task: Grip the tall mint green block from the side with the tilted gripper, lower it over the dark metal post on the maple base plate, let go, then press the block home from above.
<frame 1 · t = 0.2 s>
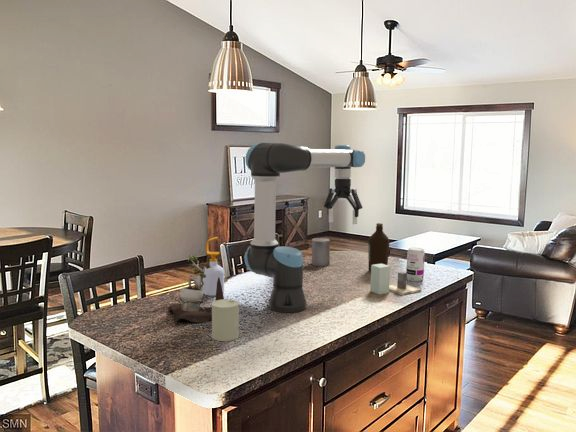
hand: (342, 223, 247), 27 cm above the worktop, tool pointing down, fingers open, 13 cm apart
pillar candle: (320, 264, 283), on the worktop
tall mint green block: (379, 291, 231), on the worktop
supplement can: (414, 279, 254), on the worktop
can: (225, 336, 176), on the worktop
post base: (401, 290, 235), on the worktop
potted plant: (198, 314, 198), on the worktop
soap bottle: (213, 293, 225), on the worktop
olive oil: (377, 272, 268), on the worktop
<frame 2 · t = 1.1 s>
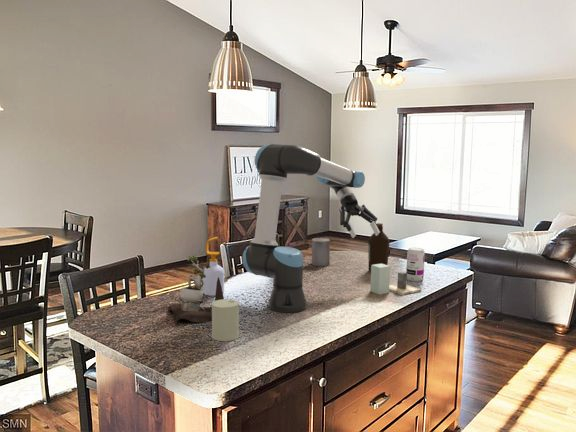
hand: (366, 235, 237), 24 cm above the worktop, tool tilted 45°, fingers open, 13 cm apart
nothing on the worktop moved.
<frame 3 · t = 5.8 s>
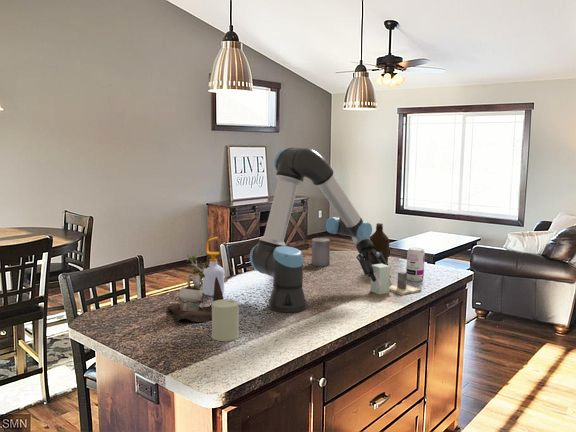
hand: (385, 286, 227), 4 cm above the worktop, tool tilted 45°, fingers closed on tall mint green block, 6 cm apart
tall mint green block: (379, 291, 231), on the worktop, touching gripper
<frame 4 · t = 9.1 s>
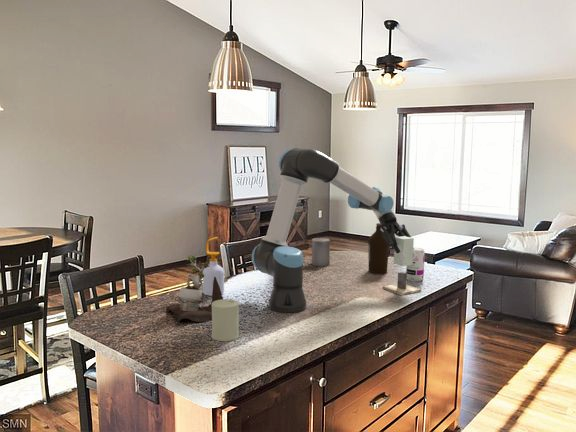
hand: (409, 257, 229), 16 cm above the worktop, tool tilted 45°, fingers closed on tall mint green block, 6 cm apart
tall mint green block: (403, 264, 233), point 12 cm above the worktop, touching gripper
when the fingers open (5 cm above the worktop, at t = 12.3 s): tall mint green block stays where it is, resting on post base.
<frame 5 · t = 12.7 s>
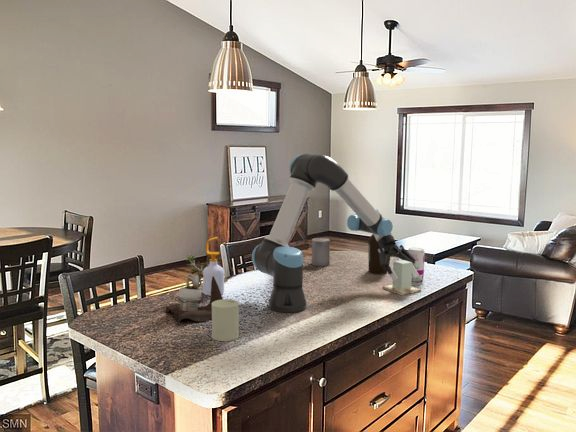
hand: (406, 278, 232), 6 cm above the worktop, tool tilted 45°, fingers open, 12 cm apart
tall mint green block: (401, 287, 234), point 1 cm above the worktop, touching post base
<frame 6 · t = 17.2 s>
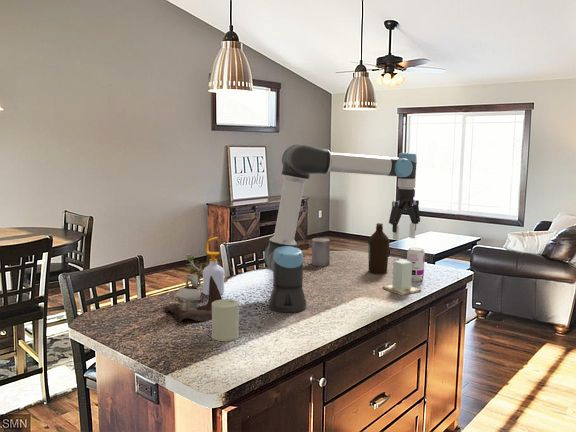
hand: (403, 238, 231), 23 cm above the worktop, tool pointing down, fingers open, 9 cm apart
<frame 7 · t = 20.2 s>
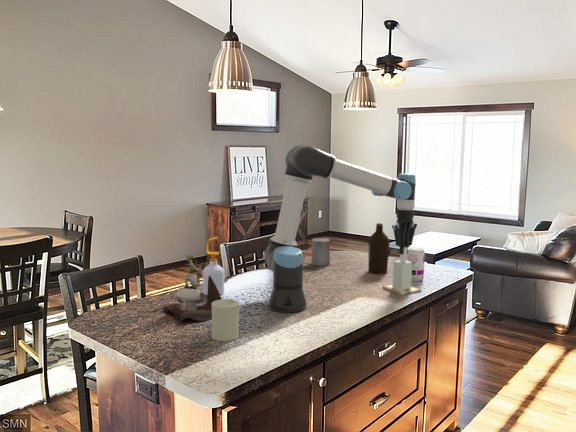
hand: (403, 261, 233), 13 cm above the worktop, tool pointing down, fingers closed
tall mint green block: (401, 287, 234), point 1 cm above the worktop, touching gripper, post base
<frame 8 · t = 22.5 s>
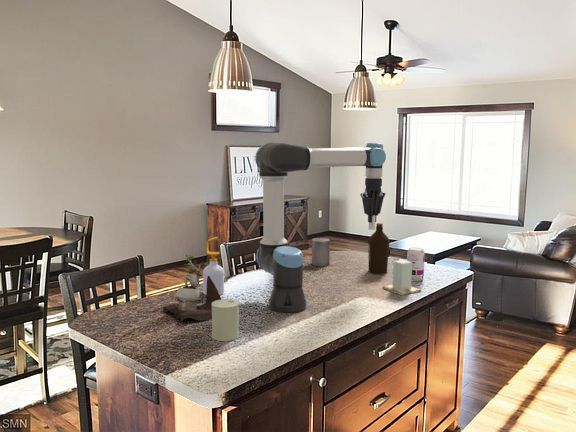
hand: (371, 229, 237), 26 cm above the worktop, tool pointing down, fingers closed
tall mint green block: (401, 287, 234), point 1 cm above the worktop, touching post base
at the end: tall mint green block 0.0 cm from the post base (horizontally); tall mint green block point 1.0 cm above the worktop; tall mint green block tilted 0° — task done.
